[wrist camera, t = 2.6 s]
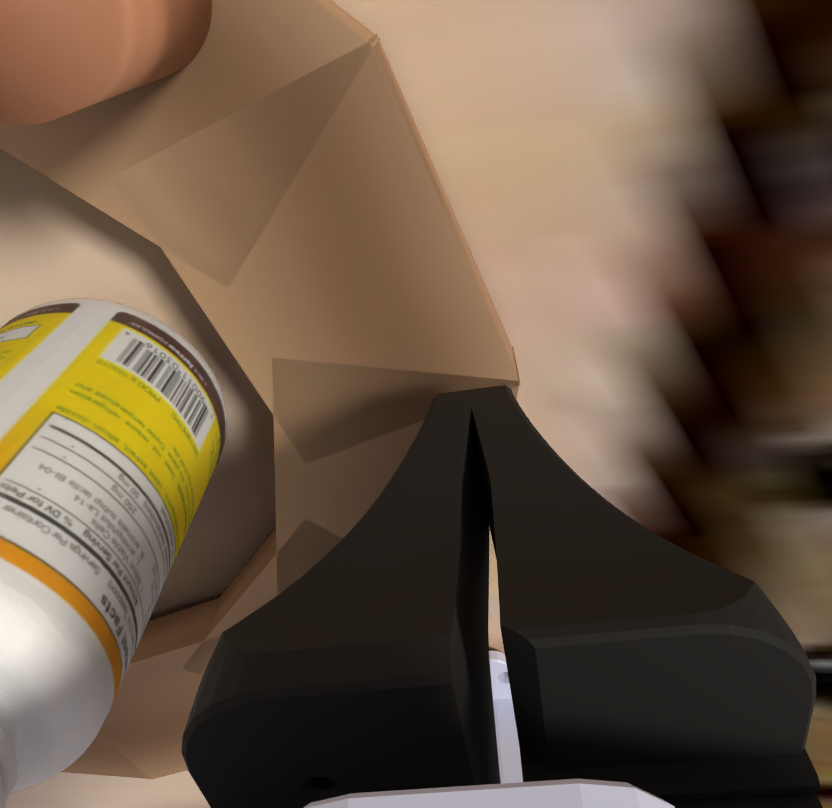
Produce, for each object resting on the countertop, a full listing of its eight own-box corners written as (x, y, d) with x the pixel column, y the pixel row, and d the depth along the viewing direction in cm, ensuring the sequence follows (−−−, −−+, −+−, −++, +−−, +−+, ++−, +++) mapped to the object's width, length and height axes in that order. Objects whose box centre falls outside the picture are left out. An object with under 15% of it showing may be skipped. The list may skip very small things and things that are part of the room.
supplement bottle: (0, 454, 18) (-424, 921, 9) (-2, 255, 15) (-629, 660, 6) (217, 508, 18) (19, 988, 10) (254, 329, 16) (21, 782, 7)
